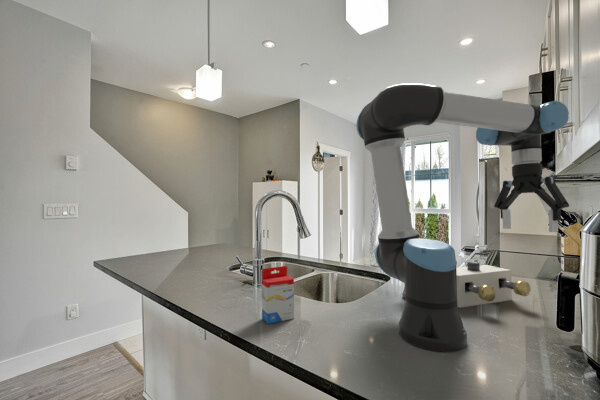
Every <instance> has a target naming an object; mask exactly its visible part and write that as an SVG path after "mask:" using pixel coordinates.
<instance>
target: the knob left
mask: <svg viewBox="0 0 600 400" xmlns="http://www.w3.org/2000/svg"><path fill="white" fill-rule="evenodd" d="M465 290H468V291H471V292H474V293H477V294H478V295H479V297H480V298H481V299H483V300H486V301H489V302H490V301H493V300H494V298H495V296H496V291H495V289H494V288H493V287H491V286H488V285H481V286H480V287H478V286H475V285H472V284H469V283H465Z"/></svg>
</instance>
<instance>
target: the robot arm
mask: <svg viewBox="0 0 600 400" xmlns="http://www.w3.org/2000/svg"><path fill="white" fill-rule="evenodd" d="M569 114H570V113H569V110H568V107H567V106H566V104H564V103H563V102H562V101H558V100H552V101H548V102H544V103H543V104H541V105H536V104H529V103H528V104H527V103H522V102H514V101H507V100H502V99H494V98H490V97H489V98H488V97H483V96H481V97H480V96H474V95H468V94H463V93H454V92H447V91H444V89H443V87H442V86H438V85H431V84H426V83H425V84H424V83H398V84H393V85H391V86H388V87H386V88H384V89H383V90H382V91H380V92H379V93H378V94H377V95H376V97H374V98H373V99H372V100H371V101H370V102H369V103H367V104H366V105H364V106H363V108H362V109H361V111H360V112H359V115H357V119H356V130H357V134H358V136H359V137H360V138H361V139H362V141H363V143H364V144H363V145H364V148H365V149H366V150H367V151H369V153H370V154H371V163H372V169H373V175H374V176H373V177H374V184H375V188H376V189H375V190H376V197H377V198H376V199H377V203H378V211H379V217H380V223H381V224H380V225H381V231H380V232H379V234H378V236H377V240H378V245H377V246H376V248H375V252H374V257H375V261H376V263H377V265H378V267H379V269H380V270H381V271H382V272H384V273H385V274H386V275H388V277H391V278H393V279H396V280H398V281H399V282H402V283H403V284H404V283H405V297H404V298H405V304H404V305H403V308H402V309H403V310H402V311H401V312H402V313H401V315H400V316H401V317H400V319H399V321H398V333H399V336H400V337H401V338H402V339H403V340H404V341H406V342H407V343H409V344H411V345H413V346H415V347H418V348H421V349H425V350H430V351H435V352H445V353H446V352H457V351H460V350H463V349H464V348H465V347H467V345H468V334H467V330H466V328H465V327H464V324H463V323H464V322H463V320H462V318H461V317H462V316H461V314H460V311H459V309H458V308H459V307H457V274H456V268H457V263H458V262H457V258H456V251H455V248H454V247H453V246H452V245H451V244H449V243H447V242H445V241H441V240H437V239H430V238H421V237H420V233H419V231H418V230H416V229H415V228H414V227H413V222H412V217H411V216H412V215H411V211H410V210H411V209H410V204H409V203H410V202H409V195H408V190H407V183H406V176H405V168H404V162H403V154H402V148H401V147H402V145H403V144H404V143H405V141H406V137H405V128H409V127H413V126H416V125H417V126H419V125H420V126H421V125H423V126H432V125H434V123H438V124H439V123H440V124H445V125H446V124H447V125H453V126H454V125H455V126H461V127H467V128H468V127H470V128H477V129H476V131H475V138H476V141H477V143H479V144H480V145H484V146H488V147H489V146H491V147H492V146H510V148H511V149H510V150H511V164H512V166H511V176H512V178H513V180H503V182H502V188H501V189H500V192H499V194H498V197H497V199H496V201H495V202H494V208H497V209H499V210H500V219H502V229H503V230H505V229H507V230H508V229H512V223H511V222H512V219H511V218H512V216H511V209H509V208H510V206H511V205H513V203H514V201H515V200H516V199H517V198H518V197H519V196H520V195H521V194H528V193H529V194H530V193H531V194H533V193H534V194H536V195H537V196H538V197H539V198H540V200H542V201H543V202H544V203H545V204H546V205H547V206H549V208H550V209H548V210H547V211H548V231H549V233H559V221H561V219H562V209H565V208H569V207H570V203H569V202H568V201H567V199H566V198H565V195H564V194H563V193H562V191H561V190H560V189H559V187H558V186H557V183H556V178H555V177H554V176H545V177H544V178H543V177H542V175H543V164H542V163H541V162H542V161H543V157H542V155H543V154H542V153H543V152H542V135H544V134H545V135H546V134H550V133H552V132H555V131H557V130H561V129H562V128H564V127H565V126H566V125H567V124H568V122H569V118H570V117H569ZM542 184H544V185H545V186H546V189H547V190H548V191H549V193H550V194H551V195H550V194H549V193H548V192H547V191H546V190H545V188H544V187H542ZM512 187H513V188H512Z"/></svg>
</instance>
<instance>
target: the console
mask: <svg viewBox="0 0 600 400" xmlns="http://www.w3.org/2000/svg"><path fill="white" fill-rule="evenodd" d="M456 274H457V308H459V309H460V308H466V307H473V306H479V305H481V306H482V305H487V304H494V303H500V302H508V301H513V289H509V288H506V287H502V286H499V279H502V280H506V281H510V282H512V270H511V269H508V268H502V267H498V266H495V265H489V264H480V271H471V270H467V266H461V267H459V266H458V267H456ZM465 283H469V284H472V285H475V286H478V287H480V286H481V285H488V286H491V287H493V288H494V289H495V291H496V296H495V298H494V300H493V301H490V302H489V301H486V300H483V299H481V298H480V297H479V295H478V294H477V293H474V292H471V291H468V290H465Z"/></svg>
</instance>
